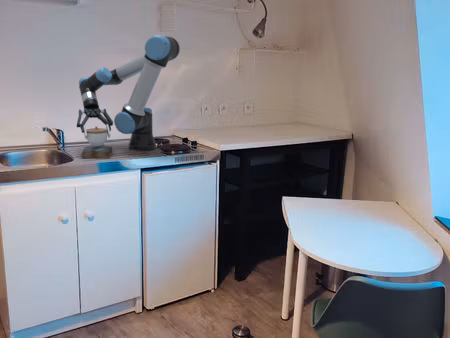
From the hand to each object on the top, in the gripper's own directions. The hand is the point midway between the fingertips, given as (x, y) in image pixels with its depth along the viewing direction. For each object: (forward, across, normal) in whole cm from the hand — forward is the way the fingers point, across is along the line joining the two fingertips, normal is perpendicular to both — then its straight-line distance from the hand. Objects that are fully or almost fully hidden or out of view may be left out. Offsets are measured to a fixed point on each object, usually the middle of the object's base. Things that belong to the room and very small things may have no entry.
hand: (98, 136), depth 208 cm
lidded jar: (+1, 0, -6) cm, 6 cm away
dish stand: (+5, 0, -9) cm, 11 cm away
